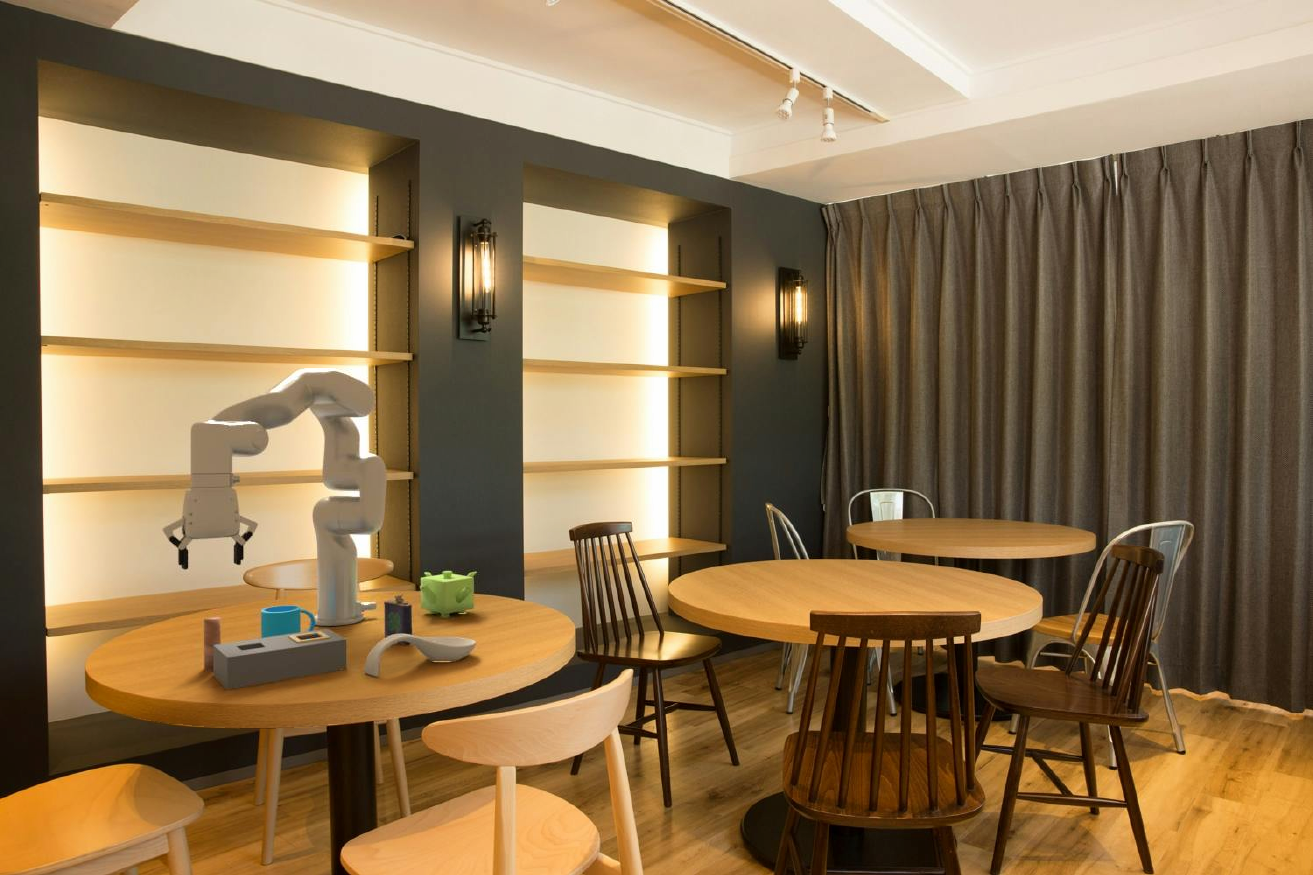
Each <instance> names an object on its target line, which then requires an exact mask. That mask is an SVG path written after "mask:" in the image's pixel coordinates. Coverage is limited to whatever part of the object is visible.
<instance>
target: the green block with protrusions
mask: <svg viewBox="0 0 1313 875" xmlns="http://www.w3.org/2000/svg"><path fill="white" fill-rule="evenodd" d="M423 573H424V575H425V576H424V577H420V586H419V589H420V609H421V610H425V611H429V612H428V614H436V613H437V614H438V613H439V614H441V615H440V618H441V617H448V618H450V614H453V613H457V614H458V613H464V612H466V611H468V610H472V609H475V592H474V591H475V583H474V582H475V578H474V576H475V575H476V574H477V571H473V572H469V573H468V574H467V575H462V574H456V573H453V571H451V570H444V571H442V574H436V575H432V574H431V573H430V572H426V571H425V572H423ZM437 614H436V615H437Z"/></svg>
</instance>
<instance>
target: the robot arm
mask: <svg viewBox="0 0 1313 875" xmlns="http://www.w3.org/2000/svg"><path fill="white" fill-rule="evenodd" d="M375 407H376V395H375V392H374V391H373V389H372V388H371V386H370V385H368V384H367V383H365V382H364V381H363V380H360V379H358V378H356V377H354V376H353V375H351V374H349V373H347V372H346V371H345V372H344V371H343V370H339V369H336V368H303V369H298V370H295V371H294V372H292V373H291V374H289V375H288V376H286V377H285V378H284V379H282V380H281V381H280V382H279V383H278V382H277V384H275V386H273V387H272V388H270V389H269V390H267V391H266V392H264V393H263V394H259V395H257V396H254V397H251V398H249V399H245V400H244V401H240V402H237V403H235V404H233V405H230V406H228V407H226V408H224V409H222V410H220V411H218V412H217V413H215V414H214V415H213V416H211V417H210V418H208V419H207V420H205V421H197V422H194V423H193V424H192V425H191V428H190V489H185V493H184V497H183V505H182V514H181V517H182V518H180V519H178V520H176V521H174V522H171V523H170V524H167V525H166V526H164V527H163V528H162V532H163V534H164V536H166V538H167V540H168V541H169V542H170V543H171V544H172V545H173V546H175V548H177V549H178V550H177V551H178V552H177V553H178V554H177V555H178V556H177V557H178V559H177V560H178V561H177V563H178V566H181V569H183V570H188V569H189V549H188V548H187V547H188V545H189V544H191V542H192V541H193V540H206V539H207V540H208V539H220V538H231V539H233V541H234V545H233V564H235V565H237V566H241V564H242V561H244V558H245V557H244V555H245V554H244V553H245V552H244V549H245V548H244V547H245V546H244V545H245V544H246V543H247V542H249V540H250V539H251V538H252V537H253V535H254V533H255V531H256V530H257V527H258V525H259V523H258V522H256V521H254V520H251V519H248V518H246V517H244V516H242V515H240V508H239V500H238V494H237V490H236V489H237V488H235V487H233V486H234V484H236V483H240V481H241V477H240V475H235V474H234V473H233V457H237V458H250V457H256V456H259V455H260V454H262V453H263V452H264V451H265V450H266V449H267V447H268V446H269V439H270V438H269V434H268V431H267V430H272V429H276V428H277V429H278V428H280V427H283V426H286V425H289V424H290V423H292V422H294V420H295V419H296V420H297V418H298V417H299V416H301V415H302V414H303V413H304V412H306V410H308V409H309V410H310V412H311V413H312V414H313V415H314V416H315V418H316V419H317V421H318V422H319V425H320V426H321V428H322V431H323V436H324V439H323V440H324V444H323V457H322V458H323V460H322V473H321V474H322V476H321V477H322V484H323V485H324V487H325V488H327V489H329V490H332V491H338V492H340V491H341V492H359V496H350V495H346V496H345V495H342V496H341V495H332V496H325V497H323V498H321V499H320V500H318V501H317V502H316V503H315V504H314V506H313V509H312V524H313V527H314V532H315V533H314V534H315V539H316V561H317V562H316V565H317V566H316V572H317V573H316V575H317V576H316V578H317V579H316V580H317V581H316V584H317V587H316V588H317V590H316V592H317V596H316V598H317V601H316V602H317V608H316V609H317V612H316V613H317V614H315V615H313V616H314V617H315V621H316V623H315V626H320V627H322V626H323V627H334V626H335V627H336V626H338V627H339V626H346V625H351V624H357V623H359V622H362V621H363V620H364V619H365V614H364V612H365V611H374V610H376V609H377V608H378V607H377V603H376V602H377V601H373V602H368V601H367V602H361V601H360V600H358V549H357V545H356V543H355V541H354V539H353V538H352V535H358V536H359V535H361V536H363V535H364V536H367V535H368V536H369V535H374V534H376V533H378V532H379V531H380V530H381V528H382V526H383V523H384V520H385V511H386V496H387V495H386V494H387V483H388V481H387V479H388V472H387V467H386V464H385V462H384V460H383V459H382V457H380V456H379V455H377V454H374V453H360V441H361V438H360V432H359V429H358V427H357V425H356V423H355V422H354V420H353V419H352V418H364V417H367V416H369V415H371V414H372V412H373V410H374V409H375ZM241 524H243V525H246V526H247V529H246V531H245V532H244V533H243V534H242V535H241V534H240V532H241V531H240V530H241ZM179 528H181V534H182V535H183V536H182V537H181V538H180V539H178V538H177V537H176V535H175V534H174V531H175V530H177V529H179Z"/></svg>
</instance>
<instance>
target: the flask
mask: <svg viewBox="0 0 1313 875" xmlns="http://www.w3.org/2000/svg"><path fill="white" fill-rule="evenodd" d="M402 597H404V594H399V595H394V598H395V600H385V601H384V602H383V603H384V604H383V605H384V636H383V637H384V638H386V637H388V636H390V635H393V634H409V635H413V622H412V621H413V620H412V618H413V614H412V612H413V611H412V609H413V606H412V604H411V603H409V602H408V601H405V599H404V598H402ZM384 638H383V639H384ZM399 643H400V644H399ZM396 644H399V645H402V646H410V645H409V644H410V643H408V642H405V641H400V642H397V643H396Z"/></svg>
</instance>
